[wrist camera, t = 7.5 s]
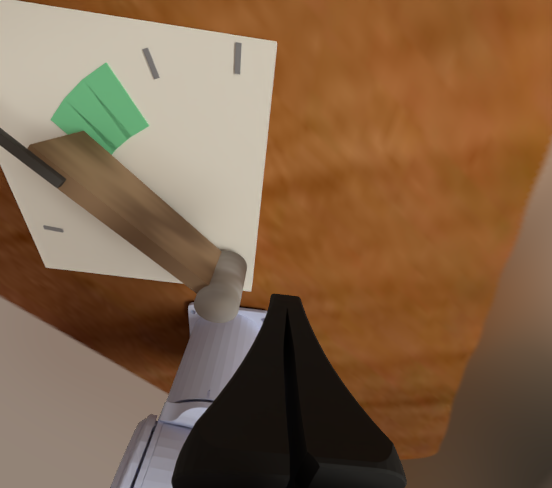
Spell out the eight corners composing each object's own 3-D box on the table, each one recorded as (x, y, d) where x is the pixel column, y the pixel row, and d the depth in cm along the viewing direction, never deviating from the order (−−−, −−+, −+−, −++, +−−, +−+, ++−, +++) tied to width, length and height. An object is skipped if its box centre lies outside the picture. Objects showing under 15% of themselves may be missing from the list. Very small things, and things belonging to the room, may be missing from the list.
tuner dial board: (252, 284, 24) (250, 292, 23) (54, 260, 24) (44, 268, 23) (277, 43, 15) (276, 41, 14) (-57, -10, 14) (-82, -16, 13)
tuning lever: (254, 268, 21) (247, 310, 17) (229, 285, 22) (217, 328, 19) (66, 98, 15) (-9, 105, 11) (44, 134, 16) (-31, 151, 12)
